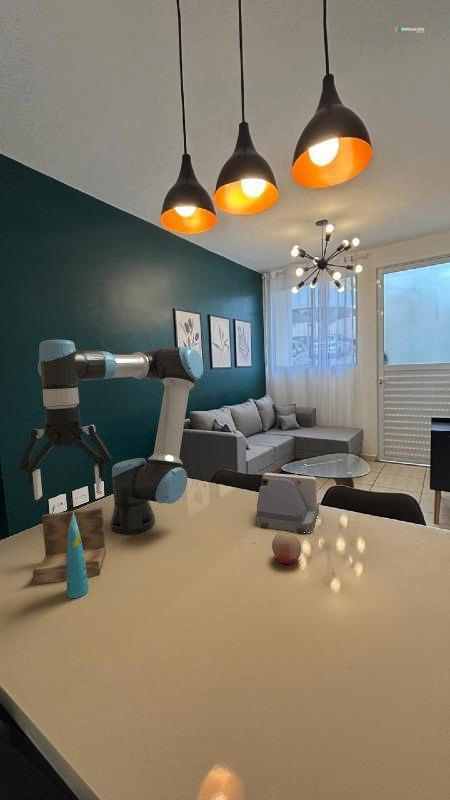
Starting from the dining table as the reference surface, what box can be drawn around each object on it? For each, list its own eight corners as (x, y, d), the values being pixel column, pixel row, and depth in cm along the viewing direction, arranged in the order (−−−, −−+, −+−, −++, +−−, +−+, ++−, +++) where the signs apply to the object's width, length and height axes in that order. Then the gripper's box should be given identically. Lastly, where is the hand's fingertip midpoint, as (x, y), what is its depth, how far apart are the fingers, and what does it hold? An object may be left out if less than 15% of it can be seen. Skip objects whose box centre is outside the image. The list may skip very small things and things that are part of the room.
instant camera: (327, 514, 122) (326, 473, 121) (306, 539, 105) (305, 492, 104) (273, 504, 134) (271, 466, 133) (247, 525, 117) (245, 482, 115)
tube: (89, 597, 81) (83, 520, 80) (67, 604, 79) (60, 525, 78) (87, 581, 88) (81, 509, 87) (66, 587, 86) (60, 513, 85)
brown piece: (105, 552, 102) (102, 507, 101) (99, 574, 91) (95, 524, 90) (48, 561, 99) (43, 514, 98) (34, 584, 88) (29, 532, 86)
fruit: (304, 555, 95) (303, 528, 95) (297, 571, 88) (296, 541, 88) (276, 550, 99) (275, 524, 98) (268, 565, 92) (267, 536, 91)
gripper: (118, 402, 86) (124, 484, 88) (10, 408, 81) (18, 494, 83) (115, 404, 79) (121, 493, 81) (-4, 411, 74) (5, 506, 76)
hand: (69, 494), depth 82 cm, fingers open, 13 cm apart
